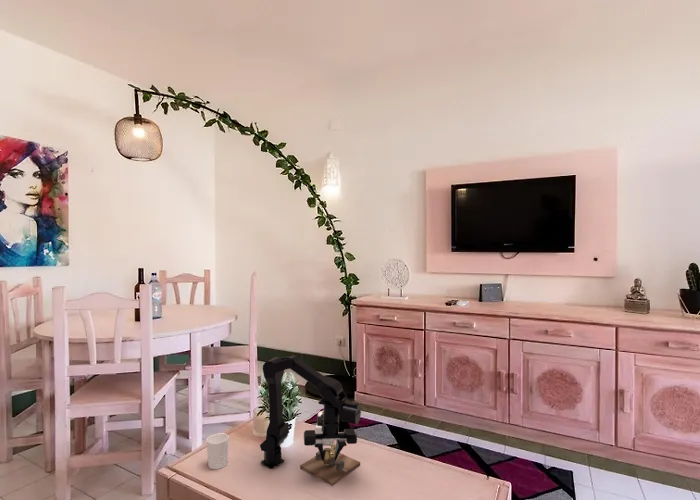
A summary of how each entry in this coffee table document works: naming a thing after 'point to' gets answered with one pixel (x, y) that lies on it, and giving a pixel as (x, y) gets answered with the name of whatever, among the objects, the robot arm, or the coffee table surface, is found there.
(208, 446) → the white cup
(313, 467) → the post base
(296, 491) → the coffee table surface
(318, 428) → the medicine bottle
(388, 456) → the coffee table surface
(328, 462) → the crank handle
